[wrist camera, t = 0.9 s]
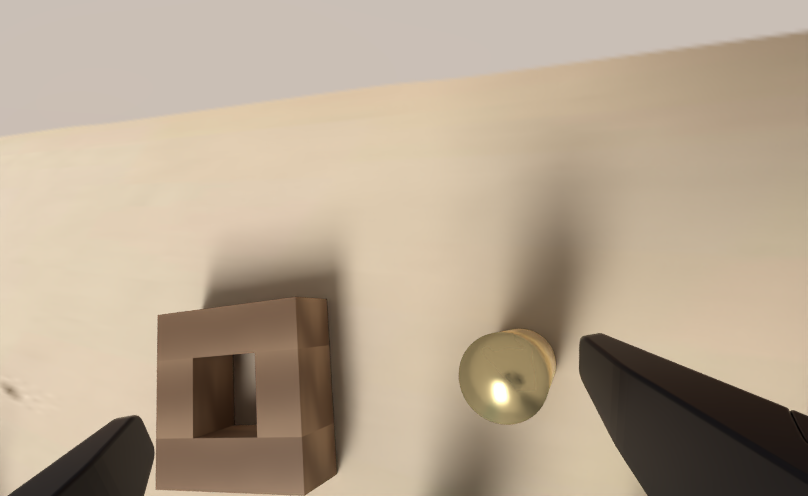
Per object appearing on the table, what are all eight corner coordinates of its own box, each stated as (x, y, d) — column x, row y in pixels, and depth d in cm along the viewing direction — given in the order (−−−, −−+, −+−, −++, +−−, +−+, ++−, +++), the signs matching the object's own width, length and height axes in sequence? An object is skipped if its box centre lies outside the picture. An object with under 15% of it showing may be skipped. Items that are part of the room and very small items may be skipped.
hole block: (336, 473, 23) (304, 495, 20) (200, 471, 26) (155, 489, 23) (326, 298, 25) (295, 296, 22) (199, 315, 28) (157, 315, 25)
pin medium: (560, 393, 20) (555, 423, 14) (493, 396, 21) (464, 425, 15) (550, 325, 20) (541, 328, 15) (485, 331, 21) (454, 336, 16)
